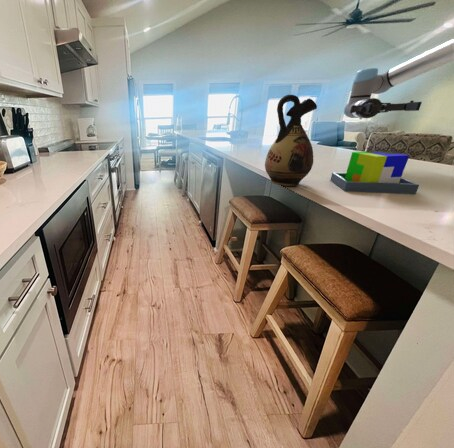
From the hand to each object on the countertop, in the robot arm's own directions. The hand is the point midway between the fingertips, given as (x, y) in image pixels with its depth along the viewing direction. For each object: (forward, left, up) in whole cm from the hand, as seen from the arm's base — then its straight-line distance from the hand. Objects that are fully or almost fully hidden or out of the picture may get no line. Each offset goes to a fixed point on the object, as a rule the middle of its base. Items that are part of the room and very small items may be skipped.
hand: (394, 107), depth 84 cm
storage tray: (+7, +15, -25) cm, 30 cm away
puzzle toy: (+7, +15, -24) cm, 29 cm away
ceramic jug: (+34, +15, -25) cm, 45 cm away
